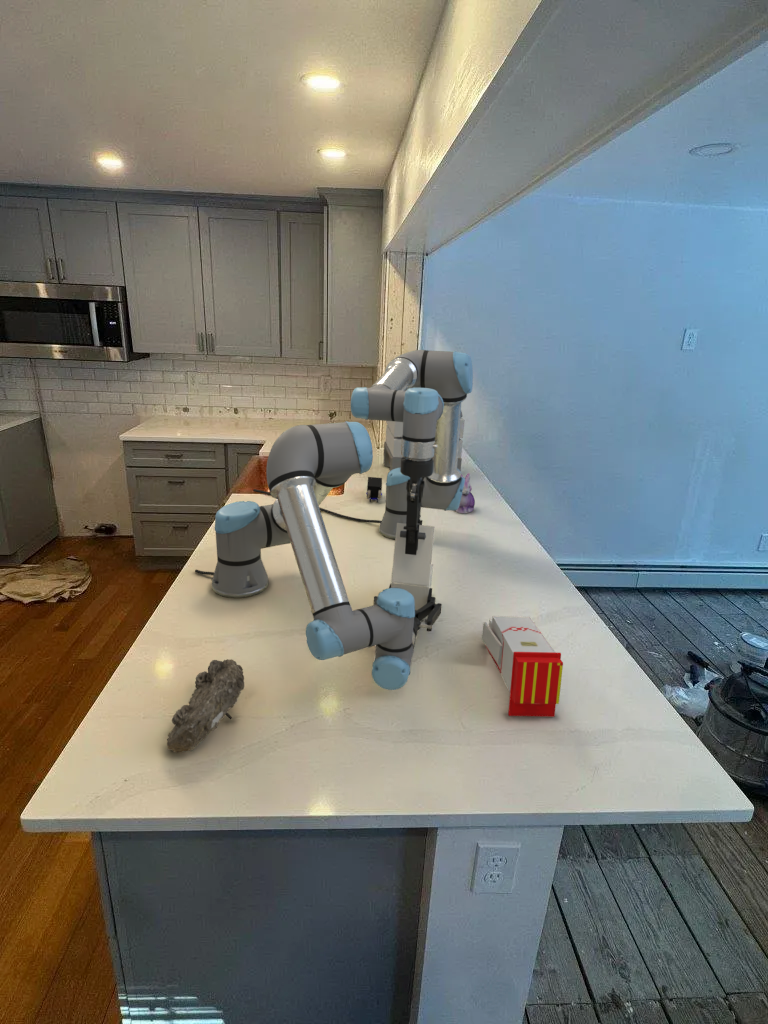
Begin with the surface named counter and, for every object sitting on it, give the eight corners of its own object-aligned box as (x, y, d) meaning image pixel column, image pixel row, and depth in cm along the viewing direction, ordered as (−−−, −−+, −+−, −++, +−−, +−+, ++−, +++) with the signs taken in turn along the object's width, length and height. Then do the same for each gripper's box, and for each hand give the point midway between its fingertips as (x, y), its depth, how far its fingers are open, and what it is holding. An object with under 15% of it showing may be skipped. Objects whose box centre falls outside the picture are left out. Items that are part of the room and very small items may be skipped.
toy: (528, 601, 136) (572, 659, 107) (523, 653, 139) (565, 722, 110) (478, 600, 136) (508, 657, 107) (474, 652, 139) (503, 722, 109)
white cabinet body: (396, 591, 159) (398, 560, 156) (430, 595, 158) (433, 564, 155) (389, 616, 146) (391, 583, 143) (426, 620, 145) (428, 587, 142)
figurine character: (382, 507, 229) (381, 492, 243) (383, 490, 226) (382, 475, 239) (365, 506, 229) (366, 491, 242) (366, 489, 226) (366, 475, 239)
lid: (397, 523, 144) (393, 521, 136) (434, 526, 143) (433, 525, 135) (391, 581, 143) (387, 583, 135) (429, 585, 142) (427, 587, 134)
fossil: (192, 660, 117) (244, 628, 112) (224, 691, 120) (276, 661, 115) (142, 746, 98) (202, 712, 93) (182, 779, 101) (242, 748, 96)
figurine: (461, 515, 220) (465, 478, 215) (447, 507, 229) (450, 471, 224) (481, 512, 224) (485, 476, 219) (466, 504, 233) (469, 469, 228)
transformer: (382, 463, 289) (386, 382, 275) (445, 464, 293) (451, 384, 279) (390, 482, 257) (394, 392, 243) (460, 483, 261) (468, 394, 247)
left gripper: (350, 644, 129) (368, 598, 150) (447, 657, 126) (452, 608, 147) (351, 615, 126) (369, 573, 147) (450, 627, 123) (454, 582, 144)
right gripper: (431, 467, 122) (423, 566, 130) (436, 451, 136) (429, 541, 144) (396, 464, 123) (391, 562, 131) (405, 448, 137) (400, 538, 145)
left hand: (410, 590), depth 147 cm, fingers closed on white cabinet body, 9 cm apart
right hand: (411, 551), depth 138 cm, fingers open, 2 cm apart
